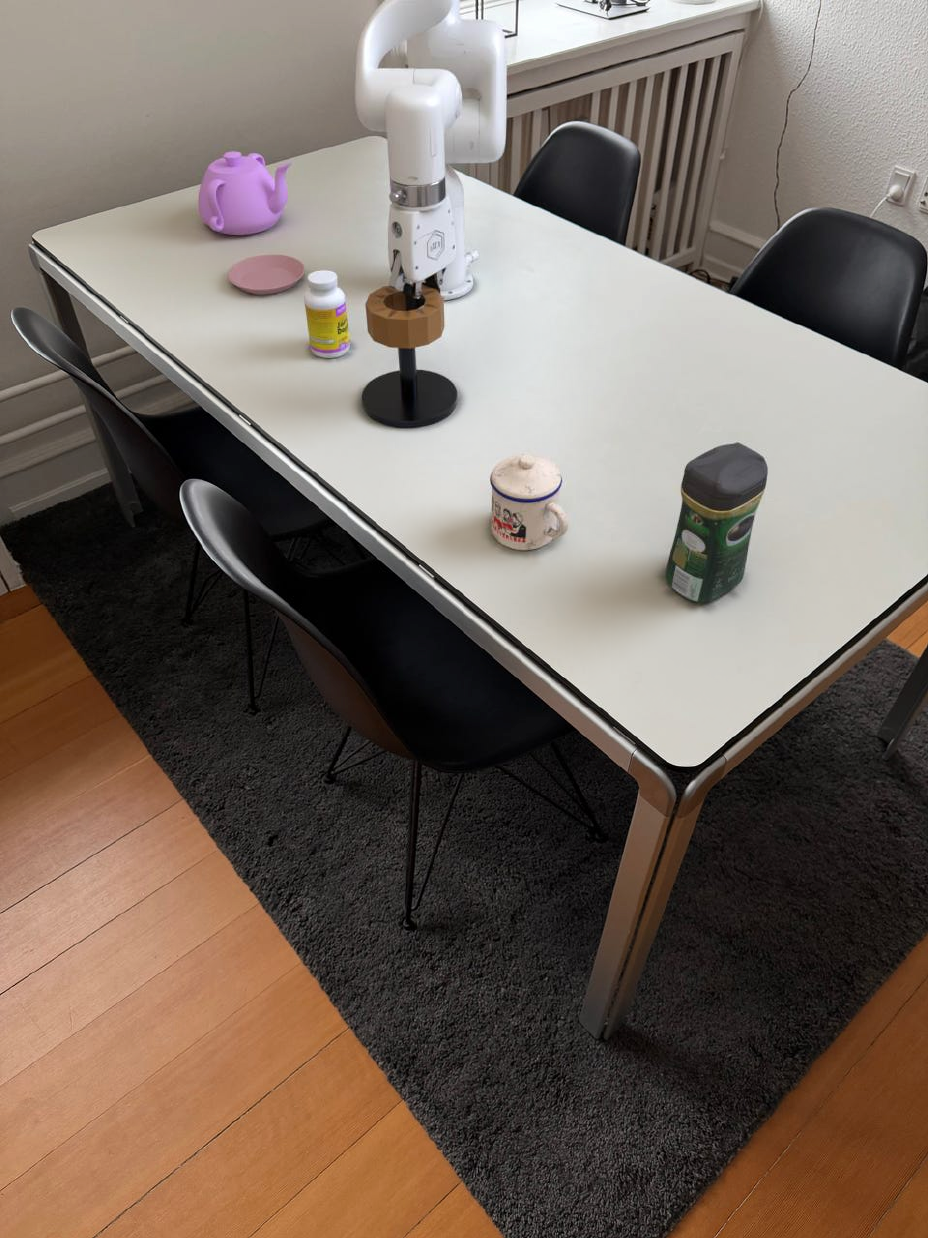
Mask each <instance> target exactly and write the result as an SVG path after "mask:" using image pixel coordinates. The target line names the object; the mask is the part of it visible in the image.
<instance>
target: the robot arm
mask: <svg viewBox="0 0 928 1238" xmlns="http://www.w3.org/2000/svg"><path fill="white" fill-rule="evenodd" d="M460 6H461V5H460V0H383V1H382V3H380V4H379V6H378V7H377V8H376V9H375V11H374V12H373V13H372V14H371V16H370V17H369V19H368V21H367V22H366V24H365V25H364V28H363V30H362V31H361V33H360V37H359V39H358V43H357V48H356V55H355V77H354V78H355V79H354V80H355V81H354V101H355V110H356V115H357V117H358V120H359V123H361V124H362V126H363V127H364V128H366V129H367V130H370V131H372V132H383V133H384V132H385V133H386V141H387V142H386V143H387V159H388V171H389V174H388V175H389V186H390V187H389V188H390V193H389V196H388V199H389V201H390V203H391V204H390V205H389V211H388V226H387V253H388V266H389V271H390V274H391V275H390V279H389V283H388V286H389V287H390V288H392V289H395V290H398V291H401V292H402V294H404V295H405V300H406V311H410V310H415V309H418V308H420V307H421V306H423V305H424V297H422V296H421V284H422V285H425V286H428V287H430V288H433V289H436V290H437V291H438V292H439V293H440V295H441V296H442V297H443V298H444V301H451V300H454V299H458V298H460V297H463V296H465V295H467V294H468V293H470V291H471V290H472V289H473V287H474V277H473V275H472V273H470V272H469V271H468V268H469V266H471V265H470V264H472V263H474V262H476V261H478V260H479V258H480V255H479V254H480V253H479V252H478V251H477V249H472V250H470V251H468V252H467V253H466V254H465V195H464V194H465V192H464V186H463V183H462V180H461V178H460V176H459V175H458V174H457V172H456V170H455V169H454V168H453V167H452V165H451V164H488V163H489V164H490V163H495V162H497V161H499V160H500V159H501V158H502V156H503V154H504V152H505V148H506V143H507V142H506V140H507V100H508V99H507V98H508V97H507V91H508V90H507V89H508V88H507V87H508V84H507V83H508V79H507V78H508V60H507V58H508V57H507V56H508V55H507V54H508V53H507V43H506V37H505V33H504V30H503V29H502V27H501V26H500V24H498V23H497V22H496V21H494V20H490V19H480V18H479V19H476V18H475V19H465V18H464V19H463V18H462V16H461V12H460V11H461V10H460V8H461V7H460ZM405 41H406V57H407V68H406V67H405V68H404V67H403V68H402V67H396V68H395V67H393V68H392V67H383V68H381V67H379V65H380V63H381V62H382V60H383V59H384V57H385V56H386V54H388V52H390V51H391V50H392V49H394V48H395V47H396V46H398V45H400V44H401V43H403V42H405ZM462 89H467V90H469V89H470V90H475V91H476V92H477V93H478V94H479V98H477V97H476V98H475V97H474V98H471V97H469V98H468V97H467V98H463V91H462ZM410 284H413V286H412V285H410Z"/></svg>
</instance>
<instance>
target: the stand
mask: <svg viewBox="0 0 928 1238" xmlns="http://www.w3.org/2000/svg"><path fill="white" fill-rule="evenodd" d="M397 355H398V368H399V370H394V371H390V372H387V373H384V374H381V375H379V376H377V377H374V378H373V379H372V380H370V382H368V383H367V384H366V385H365V387H364V388H363V389H362V392H361V397H360V398H361V406H362V409H363V411H364V413H365V414H366V415H367V416H368V417H369V418H370V419H371V420H373V421H375V422H376V423H378V424H381V425H384V426H387V427H392V428H400V429H416V428H424V427H428V426H431V425H434V424H437V423H439V422H441V421H443V420H445V419H446V418H448V417H449V416H450V415H451V414H452V413H453V412H454V411H455V409H456V408H457V405H458V400H459V399H458V390H457V387H456V385H455V384H454V383H453V381H451V380H450V379H449V378H448V377H446V376H444V375H443V374H440V373H437V372H434V371H430V370H426V369H417V353H416V347H415V348H410V349H406V348H397Z"/></svg>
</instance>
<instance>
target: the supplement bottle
mask: <svg viewBox="0 0 928 1238" xmlns="http://www.w3.org/2000/svg"><path fill="white" fill-rule="evenodd" d="M307 285H308V287H309V289H308V290H307V291H306V292H305V294H304V296H303V301H304V308H305V314H306V315H305V316H306V323H307V330H308V338H309V346H310V350H311V353H313V354H314V355H315V356H317V357H320V358H325V359H334V358H338V357H342V356H343V355H345V354H347V352H349V350H350V347H351V341H350V330H349V321H348V312H347V303H346V302H347V301H346V295H345V292H344V291H343V289H341V288H340V287H339V286H338V275H337V274H336V273H335V272H334V271H332V270H327V269H326V270H325V269H324V270H323V269H321V270H315V271H312V272H311V273H309V274H308V275H307Z"/></svg>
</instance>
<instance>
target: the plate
mask: <svg viewBox="0 0 928 1238" xmlns="http://www.w3.org/2000/svg"><path fill="white" fill-rule="evenodd" d="M227 271H228V272H227V279H228V281H229V282H230V283H231V284H232V285H234V286H236V287H237V288H239V289H240V290H242V291H243V292H245V293H249V294H252V295H259V296H260V295H264V296H265V295H266V296H267V295H275V294H279V293H282V292H285V291H287V290H289V289H291V288H293V286H295V284H297V282H298V281H299V280H300V279H301V278H302V277H303V276H304V274H305V271H306V268H305V265H304V263H303V262H302V261H301V260H299V259H297V258H295V257H292V256H288V255H283V254H261V255H255V256H251V257H248V258H245V259H242V260H240V261H238V262H236V263H235V264H233V265H232V266H231V267H230V268H229V270H227Z"/></svg>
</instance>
